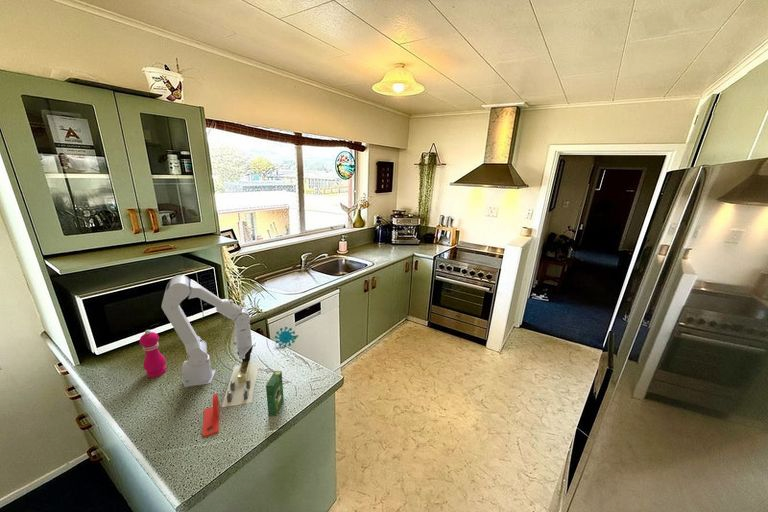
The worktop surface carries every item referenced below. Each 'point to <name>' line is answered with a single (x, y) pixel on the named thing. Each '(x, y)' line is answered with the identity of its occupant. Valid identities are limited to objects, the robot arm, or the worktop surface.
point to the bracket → (211, 418)
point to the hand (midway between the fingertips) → (246, 362)
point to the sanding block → (244, 371)
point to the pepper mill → (152, 354)
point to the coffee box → (274, 393)
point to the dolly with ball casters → (232, 387)
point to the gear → (285, 337)
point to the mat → (241, 386)
